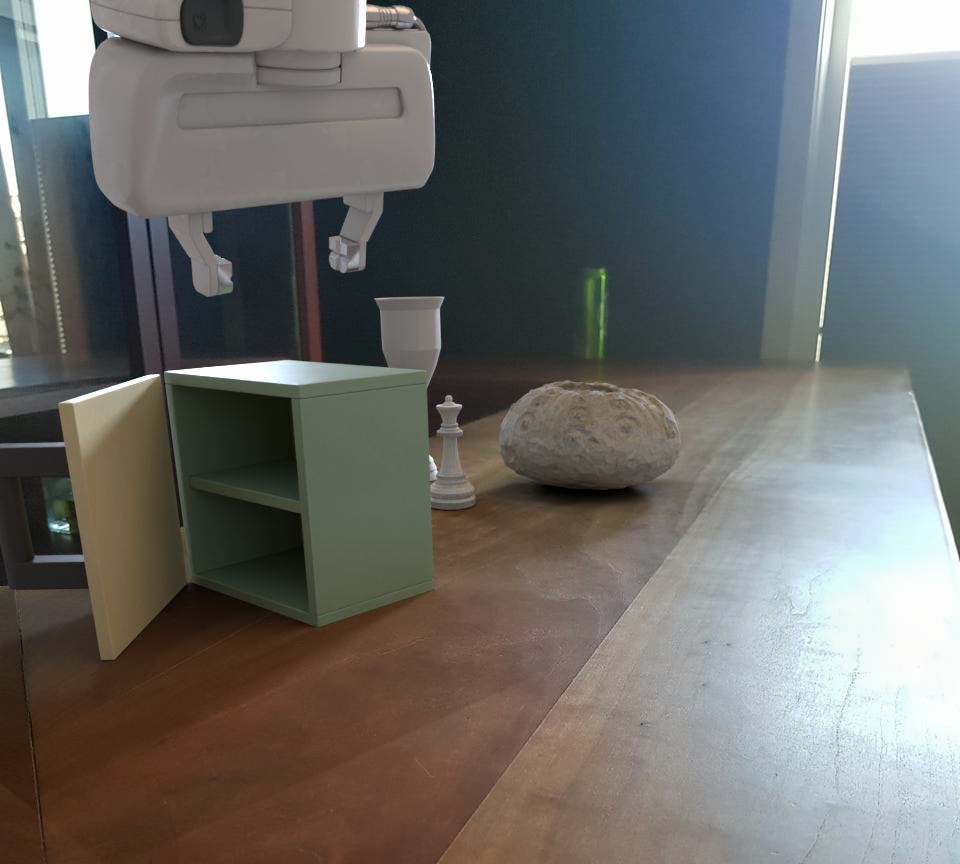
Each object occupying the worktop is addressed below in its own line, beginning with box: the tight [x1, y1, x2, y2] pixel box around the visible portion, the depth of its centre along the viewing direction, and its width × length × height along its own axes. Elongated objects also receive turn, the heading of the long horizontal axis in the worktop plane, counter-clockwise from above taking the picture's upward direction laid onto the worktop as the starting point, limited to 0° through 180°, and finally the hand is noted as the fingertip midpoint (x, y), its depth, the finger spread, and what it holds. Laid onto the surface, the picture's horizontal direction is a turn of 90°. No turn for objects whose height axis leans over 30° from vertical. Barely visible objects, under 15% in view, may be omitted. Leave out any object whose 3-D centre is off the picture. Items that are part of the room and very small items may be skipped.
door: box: [0, 374, 188, 661], centre depth 60 cm, size 6×15×14 cm, turn 0°
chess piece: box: [430, 394, 476, 511], centre depth 90 cm, size 4×4×10 cm
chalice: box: [374, 296, 445, 482], centre depth 101 cm, size 7×7×18 cm
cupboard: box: [163, 359, 435, 628], centre depth 66 cm, size 10×15×15 cm
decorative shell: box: [498, 379, 682, 491], centre depth 96 cm, size 18×18×10 cm
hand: (283, 280), depth 57 cm, fingers open, 8 cm apart
